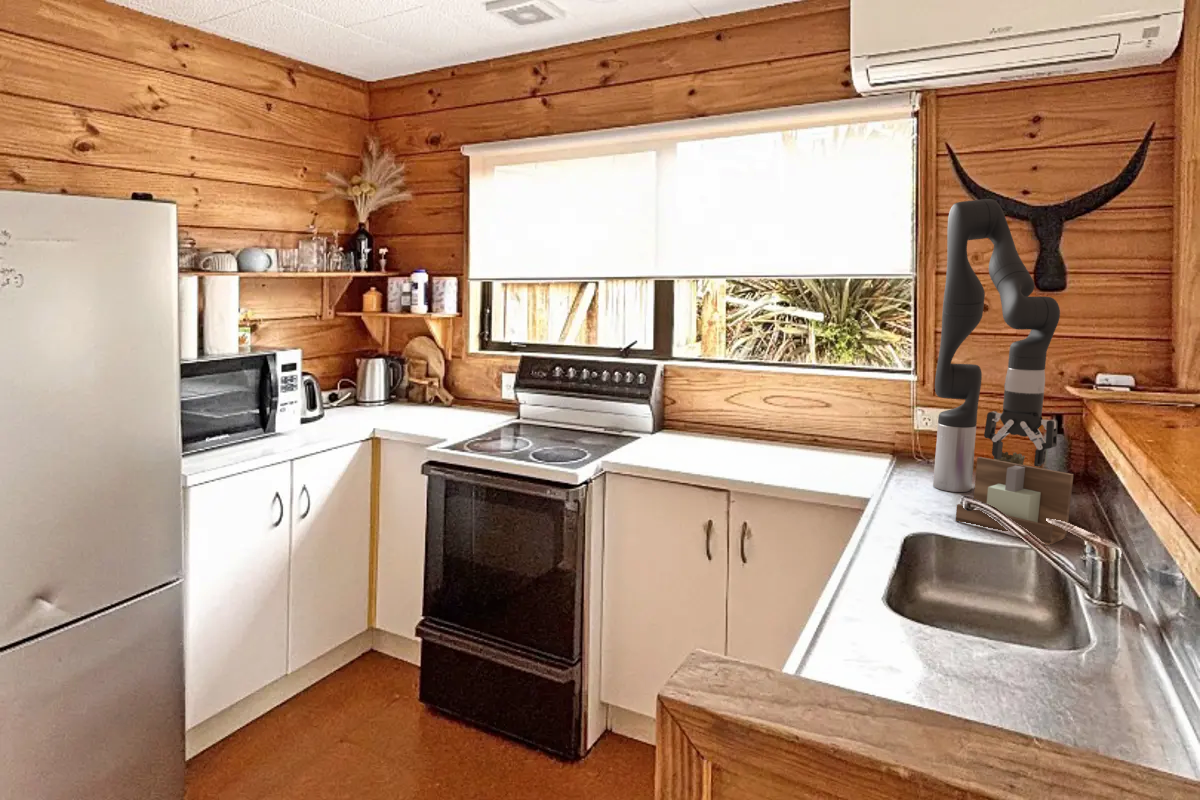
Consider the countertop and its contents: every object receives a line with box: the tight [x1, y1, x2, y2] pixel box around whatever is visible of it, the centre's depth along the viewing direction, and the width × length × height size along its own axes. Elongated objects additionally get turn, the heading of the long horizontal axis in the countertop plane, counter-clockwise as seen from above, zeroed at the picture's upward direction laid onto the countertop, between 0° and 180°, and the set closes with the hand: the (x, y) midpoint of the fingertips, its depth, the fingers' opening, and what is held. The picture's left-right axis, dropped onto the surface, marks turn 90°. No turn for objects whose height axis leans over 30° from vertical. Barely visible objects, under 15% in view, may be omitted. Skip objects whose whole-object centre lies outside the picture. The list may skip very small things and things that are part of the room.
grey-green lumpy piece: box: [993, 451, 1026, 465], centre depth 210 cm, size 8×7×8 cm
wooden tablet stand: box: [955, 456, 1074, 546], centre depth 169 cm, size 9×20×14 cm, turn 37°
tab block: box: [987, 466, 1041, 522], centre depth 170 cm, size 5×9×13 cm, turn 37°
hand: (1017, 462), depth 168 cm, fingers open, 8 cm apart
